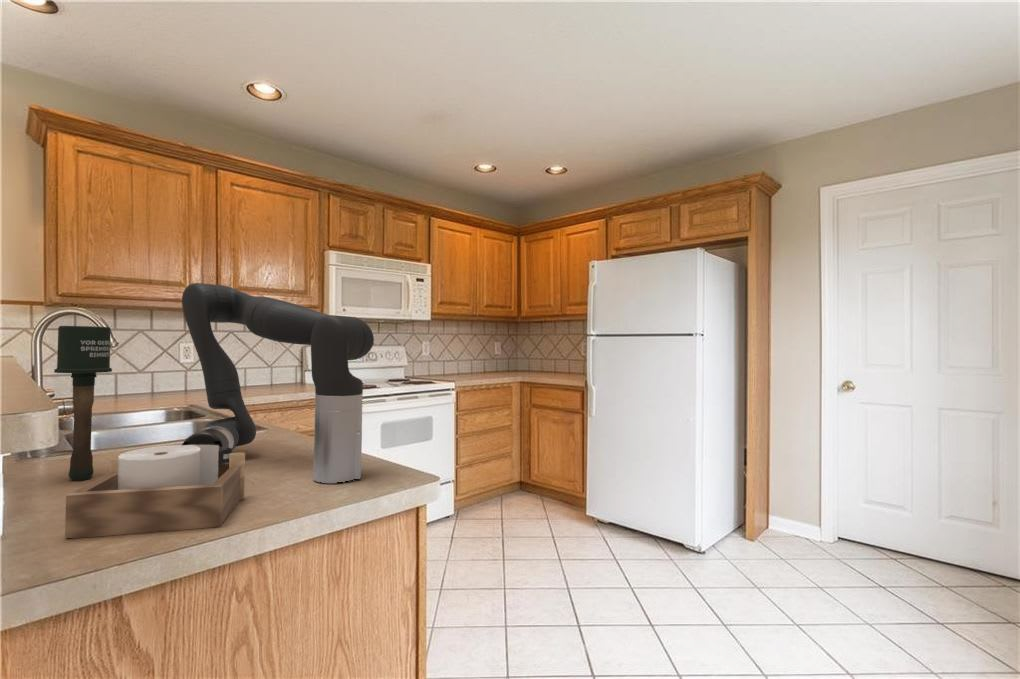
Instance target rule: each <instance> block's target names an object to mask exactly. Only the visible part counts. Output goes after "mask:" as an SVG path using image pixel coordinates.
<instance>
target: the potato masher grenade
mask: <svg viewBox="0 0 1020 679" xmlns="http://www.w3.org/2000/svg"><path fill="white" fill-rule="evenodd" d="M111 334H112V333H111V327H108V326H96V325H95V326H93V325H92V326H91V325H90V326H87V325H59V326H58V328H57V355H56V357H57V358H56V359H57V360H56V368H55V369H54V373H57V374H71V375H70V378H72V405H73V427H72V428H73V432H72V433H73V435H72V438H73V439H72V452H71V456H70V460H69V461H70V462H69V464H70V465H69V471H68V478H69V480H70V481H73V482H81V481H86V480H89V479H91V478H92V477H93V475H94V471H95V470H94V463H93V462H94V461H93V460H94V459H93V458H94V457H93V456H94V455H93V453H92V421H93V420H92V417H93V413H92V411H93V406H94V402H95V385H96V384H95V383H96V382H95V381H96V378H97V377H98V375H97V373H98V374H99V373H111V372H113V368H112V367H111V365H110V364H111Z"/></svg>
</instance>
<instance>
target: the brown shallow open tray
mask: <svg viewBox="0 0 1020 679" xmlns="http://www.w3.org/2000/svg"><path fill="white" fill-rule="evenodd" d="M108 461H109V462H108V473H107V474H105V475H103V476H101V477H99V478H97V479H95V480H93V481H92V482H89V483H88V484H85V485H84V486H82V487H80V488H78V489H76V490H74V491H72V492H70V493H68V494H66V496H65V521H64V522H65V524H64V525H65V526H64V540H68V539H67V538H73V539H84V538H94V537H95V538H96V537H107V536H108V537H110V536H121V535H132V534H133V535H134V534H146V533H148V534H149V533H157V532H159V533H160V532H170V531H171V532H172V531H183V530H185V531H186V530H195V529H196V530H197V529H208V528H220V527H221V526H222V525H223V523H224V522H225V521H226V520H227V518H228V517H229V516H230V514H231V513H232V512H233V511H234V509H235V508H236V507H237V505H238V504H239V503H240V502H241V501H244V500H245V477H246V476H245V475H246V474H245V473H246V471H245V470H246V469H245V468H246V452H243V451H242V452H241V451H240V452H232V453H231V454H229V466H228V468H227V470H226V471H225V472H223V474H222V475H220V477H218V480H217V481H216V482H215V483H214V484H211V485H193V486H176V487H158V488H141V489H123V490H118V457H117V456H116V457H113V458H109V460H108Z"/></svg>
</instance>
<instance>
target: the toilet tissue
mask: <svg viewBox="0 0 1020 679" xmlns="http://www.w3.org/2000/svg"><path fill="white" fill-rule="evenodd" d="M218 452H219V445H182V444H179V445H178V444H175V445H162V446H161V445H159V446H151V447H145V448H144V447H143V448H139V449H135V450H134V449H133V450H129V451H126V452H123V453H121V454H119V455H118V490H123V489H141V488H158V487H176V486H193V485H211V484H214V483H215V482H216V481H217V480H218V479H219V465H218Z"/></svg>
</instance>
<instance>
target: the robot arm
mask: <svg viewBox="0 0 1020 679" xmlns="http://www.w3.org/2000/svg"><path fill="white" fill-rule="evenodd" d="M181 307H182V312H183V315H184V318H185V319H184V320H185V323H186V325H187V328H188V331H189V334H190V337H191V339H192V342H193V346H194V348H195V351H196V354H197V356H198V360H199V362H200V366H201V370H202V374H203V379H204V386H205V393H206V399H207V403H208V407H209V408H210V409H213V410H228V411H229V410H230V411H231V412H232V413H233V415H234V416H231V417H225V418H222V419H221V418H220V419H215V420H212V421H210V422H208V423H206V425H205V426H204V428H202V429H200V430H199V431H197V432H195V433H193V434H191V435H189V436H188V437H186V439H185V440H184V441H183V442H182V444H181V445H219V452H218V466H219V465H223V464H224V465H225V464H227V463H229V454H231V453H233V450H235V449H236V447H240V446H241V447H242V446H246V445H249V444H251V443H252V442H253V441H254V440H255V438H256V434H257V427H256V425H255V422H254V420H253V418H252V416H251V415H250V413H249V411H248V409H247V406H246V405H245V401H244V399H243V395H242V394H243V393H242V389H241V383H240V378H239V373H238V370H237V367H236V365H235V363H234V362H233V360H232V359H231V358H230V356H229V355H228V354H227V352H225V350H224V349H223V347H222V346H221V345H220V344H219V342H218V340H217V338H216V336H215V335H214V331H213V329H212V323H215V324H218V323H219V324H220V323H221V324H223V323H224V324H225V323H227V324H230V323H231V324H239V325H245V327H246V328H247V329H248V330H249V332H251V333H252V334H254V335H255V336H258V337H260V338H263V339H267V340H270V341H274V342H277V343H278V342H279V343H284V344H291V345H302V346H303V345H305V346H306V345H307V346H310V357H311V358H310V361H311V362H310V363H311V367H310V368H311V378H312V379H311V380H312V382H313V385H314V389H315V391H314V393H315V394H314V429H313V430H314V433H313V434H314V435H313V440H314V441H313V470H312V472H313V477H312V478H313V480H314V481H315V482H318V483H320V482H321V483H322V484H338V483H337V482H343V483H346V482H345V481H349V480H353V479H360V478H361V479H362V454H363V453H362V450H363V449H362V444H363V442H362V441H363V439H362V438H363V396H364V394H363V393H364V386H363V385H364V383H363V380H362V379H360V378H358V377H356V376H355V375H353V374H352V372H350V368H349V361H354V360H358V359H361V358H362V357H365V356H366V355H367V354H369V352H371V350H372V348H373V346H374V342H375V337H374V333H373V331H372V329H371V327H370V325H369V324H368V323H366V322H365V321H364V320H362V319H361V318H359V317H356V316H349V315H348V316H347V315H346V316H345V315H336V314H327V313H324V312H319V311H316V310H314V309H311V308H308V307H306V306H302V305H299V304H296V303H291V302H290V301H286V300H281V299H277V298H274V297H273V298H272V297H268V296H259V295H258V296H255V295H250V294H247V293H245V292H243V291H240V290H238V289H235V288H233V287H231V286H227V285H221V284H214V283H213V284H212V283H211V284H210V283H200V282H195V283H190V284H189V285H187V286H186V287H185V288H184V291H183V292H182V296H181ZM361 479H360V480H361ZM353 481H354V480H353ZM349 482H350V481H349Z"/></svg>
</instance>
